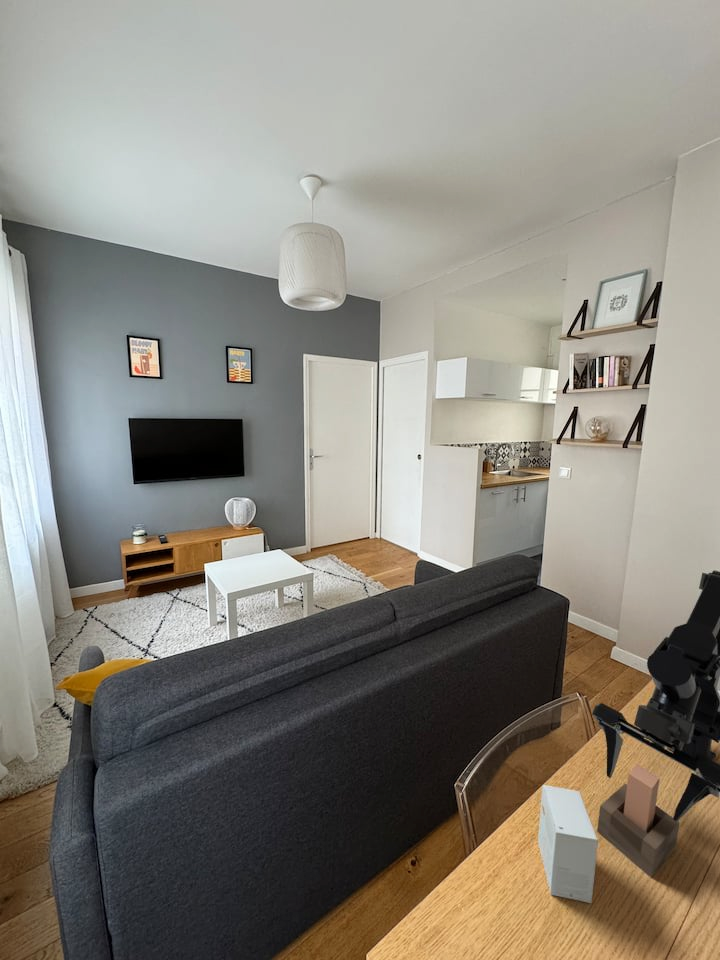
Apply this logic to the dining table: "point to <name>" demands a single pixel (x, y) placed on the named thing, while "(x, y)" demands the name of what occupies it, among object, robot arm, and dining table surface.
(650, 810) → the peg
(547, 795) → the small box
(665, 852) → the socket block
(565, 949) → the dining table surface
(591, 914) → the dining table surface
